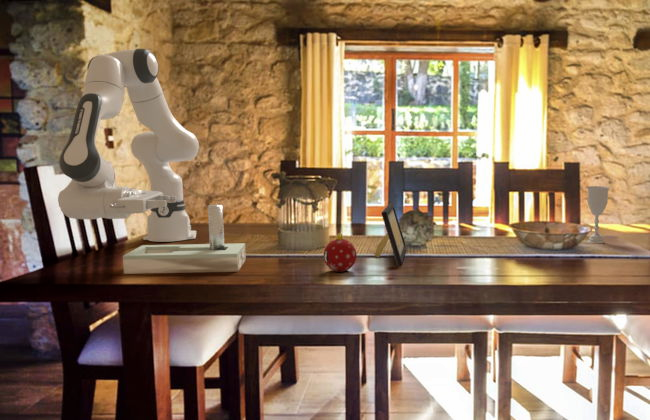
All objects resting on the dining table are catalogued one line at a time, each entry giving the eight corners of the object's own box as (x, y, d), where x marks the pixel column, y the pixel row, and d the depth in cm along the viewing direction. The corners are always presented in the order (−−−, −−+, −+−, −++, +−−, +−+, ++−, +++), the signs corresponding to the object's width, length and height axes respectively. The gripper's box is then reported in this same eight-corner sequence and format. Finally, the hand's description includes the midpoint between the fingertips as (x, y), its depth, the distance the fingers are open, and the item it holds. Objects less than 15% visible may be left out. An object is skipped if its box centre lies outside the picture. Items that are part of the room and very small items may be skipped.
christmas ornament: (362, 272, 143) (362, 234, 142) (333, 276, 139) (332, 237, 138) (346, 266, 150) (346, 230, 149) (318, 270, 147) (317, 232, 145)
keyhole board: (143, 261, 162) (142, 245, 161) (245, 259, 162) (245, 243, 162) (123, 273, 146) (122, 255, 146) (237, 271, 146) (237, 253, 146)
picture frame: (402, 265, 150) (395, 210, 149) (369, 268, 152) (362, 214, 151) (406, 249, 173) (401, 202, 172) (378, 252, 175) (372, 205, 174)
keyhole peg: (206, 260, 158) (203, 204, 156) (234, 259, 158) (232, 203, 156) (200, 266, 150) (197, 207, 148) (229, 265, 150) (227, 206, 148)
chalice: (612, 243, 177) (614, 187, 175) (590, 244, 178) (592, 188, 176) (601, 239, 185) (603, 186, 183) (580, 240, 185) (582, 186, 183)
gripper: (105, 195, 142) (159, 193, 142) (131, 187, 162) (179, 186, 162) (107, 219, 142) (161, 218, 143) (133, 209, 163) (180, 207, 163)
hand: (171, 201), depth 152 cm, fingers open, 8 cm apart
